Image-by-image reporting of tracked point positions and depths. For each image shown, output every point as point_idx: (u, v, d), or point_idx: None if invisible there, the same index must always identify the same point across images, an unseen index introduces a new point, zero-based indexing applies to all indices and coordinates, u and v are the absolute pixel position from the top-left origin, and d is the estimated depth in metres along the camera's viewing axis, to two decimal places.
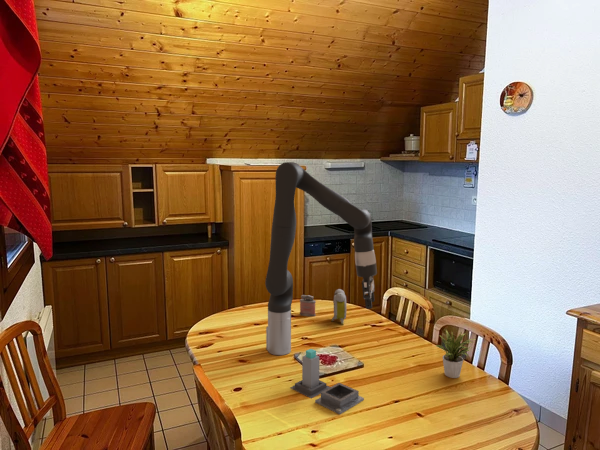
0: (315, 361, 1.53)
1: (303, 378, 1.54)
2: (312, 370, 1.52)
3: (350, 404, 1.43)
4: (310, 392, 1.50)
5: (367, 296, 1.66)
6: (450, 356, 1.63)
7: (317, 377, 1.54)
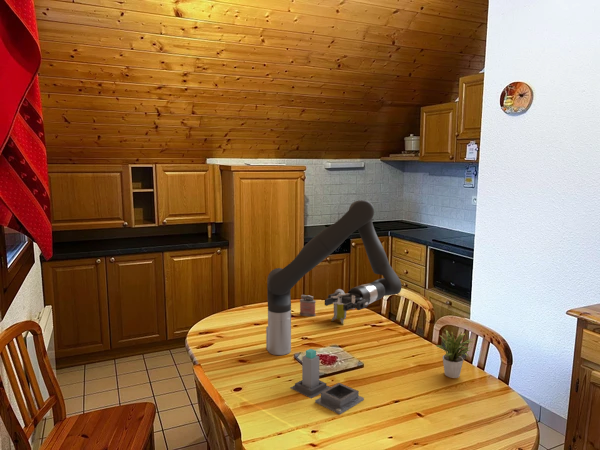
0: (315, 361, 1.53)
1: (303, 378, 1.54)
2: (312, 370, 1.52)
3: (350, 404, 1.43)
4: (310, 392, 1.50)
5: (359, 307, 1.59)
6: (450, 356, 1.63)
7: (317, 377, 1.54)
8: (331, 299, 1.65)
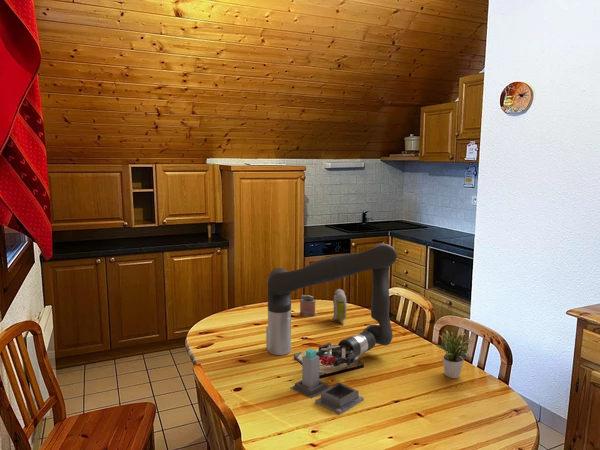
0: (315, 361, 1.53)
1: (303, 378, 1.54)
2: (312, 370, 1.52)
3: (350, 404, 1.43)
4: (310, 392, 1.50)
5: (350, 362, 1.58)
6: (450, 356, 1.63)
7: (317, 377, 1.54)
8: (321, 352, 1.64)
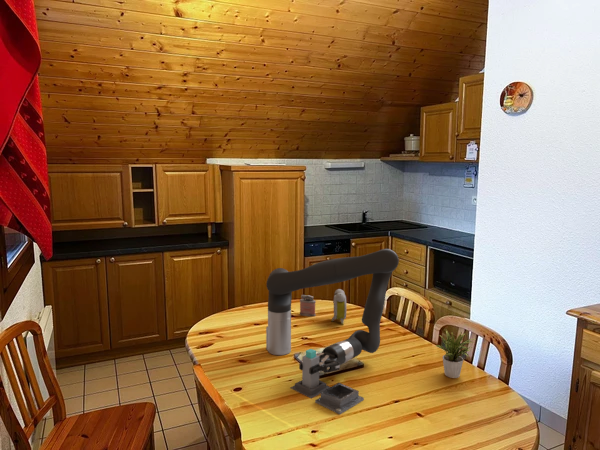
0: (315, 361, 1.53)
1: (303, 378, 1.54)
2: None
3: (350, 404, 1.43)
4: (310, 392, 1.50)
5: (326, 369, 1.52)
6: (450, 356, 1.63)
7: (317, 377, 1.54)
8: None
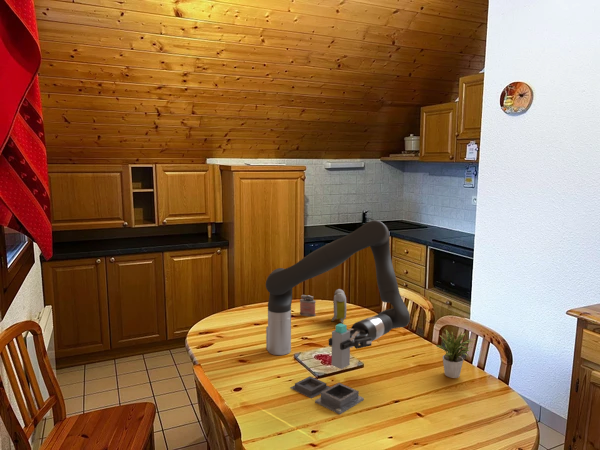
0: (346, 336, 1.42)
1: (333, 355, 1.44)
2: None
3: (350, 404, 1.43)
4: (310, 392, 1.50)
5: (358, 345, 1.42)
6: (450, 356, 1.63)
7: (348, 353, 1.44)
8: None
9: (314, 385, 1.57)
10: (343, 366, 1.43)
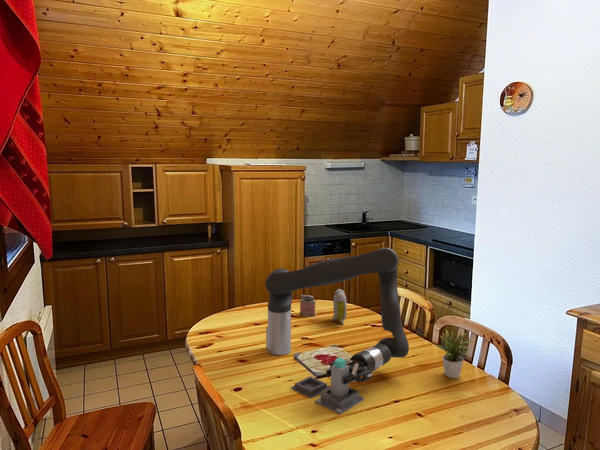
0: (345, 371, 1.44)
1: (332, 389, 1.46)
2: (341, 380, 1.43)
3: (350, 404, 1.43)
4: (310, 392, 1.50)
5: (360, 379, 1.43)
6: (450, 356, 1.63)
7: (347, 388, 1.45)
8: None
9: (314, 385, 1.57)
10: None
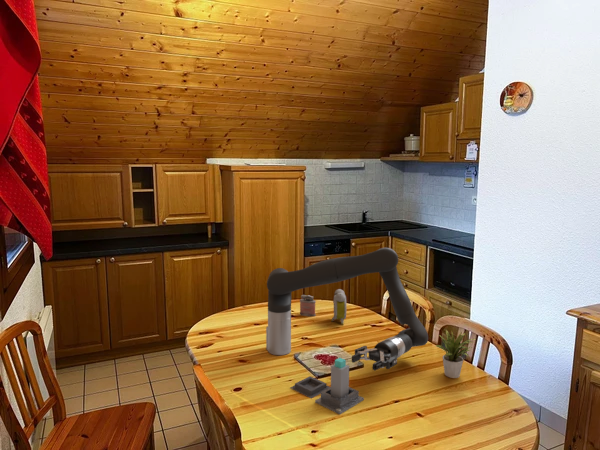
0: (345, 371, 1.44)
1: (332, 389, 1.46)
2: (341, 380, 1.43)
3: (350, 404, 1.43)
4: (310, 392, 1.50)
5: (389, 365, 1.53)
6: (450, 356, 1.63)
7: (347, 388, 1.45)
8: (358, 355, 1.59)
9: (314, 385, 1.57)
10: None
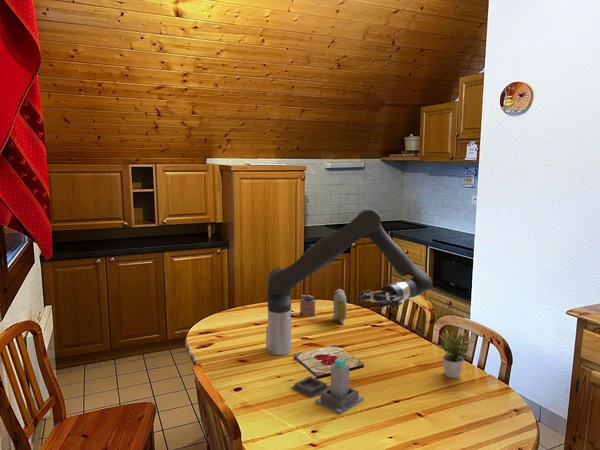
0: (345, 371, 1.44)
1: (332, 389, 1.46)
2: (341, 380, 1.43)
3: (350, 404, 1.43)
4: (310, 392, 1.50)
5: (395, 304, 1.56)
6: (450, 356, 1.63)
7: (347, 388, 1.45)
8: (364, 296, 1.62)
9: (314, 385, 1.57)
10: None
